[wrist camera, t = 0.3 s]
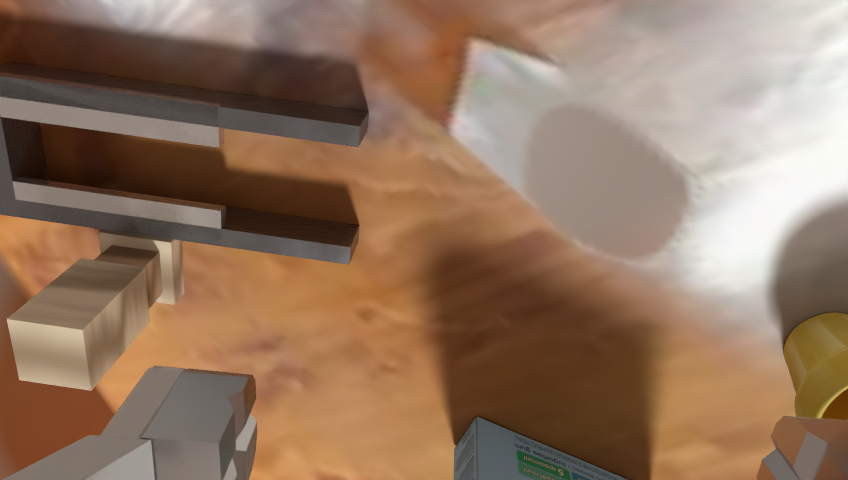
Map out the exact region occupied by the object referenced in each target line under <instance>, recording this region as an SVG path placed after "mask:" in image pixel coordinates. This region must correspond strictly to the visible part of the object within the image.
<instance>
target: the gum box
mask: <svg viewBox="0 0 848 480" xmlns="http://www.w3.org/2000/svg"><path fill="white" fill-rule="evenodd" d="M454 480H628V479H626V478H623V477H621V476H618V475H616V474H613V473H611V472H609V471H606V470H604V469H602V468H599V467H597V466H594V465H592V464H590V463H587V462H585V461H582V460H580V459H578V458H575V457H573V456H570V455H568V454H566V453H563V452H561V451H558V450H556V449H554V448H551V447H549V446H547V445H544V444H542V443H539V442H537V441H535V440H532V439H530V438H527V437H525V436H522V435H520V434H518V433H515V432H513V431H511V430H508V429H506V428H503V427H501V426H498V425H496V424H494V423H491V422H489V421H487V420H484V419H482V418H480V417H477V416H476V418H475V419H474V420H473V422H472V423H471V425H470V426H469V428H468V430H467V431H466V433H465V434H464V436H463V437H462V438H461V440H460V441H459V443H458V444H457V446H456V447H455V449H454Z"/></svg>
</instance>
